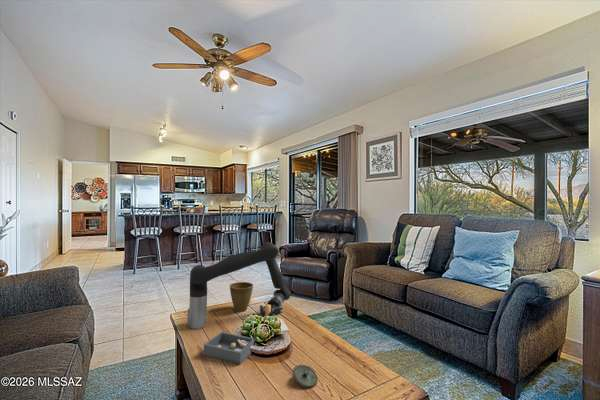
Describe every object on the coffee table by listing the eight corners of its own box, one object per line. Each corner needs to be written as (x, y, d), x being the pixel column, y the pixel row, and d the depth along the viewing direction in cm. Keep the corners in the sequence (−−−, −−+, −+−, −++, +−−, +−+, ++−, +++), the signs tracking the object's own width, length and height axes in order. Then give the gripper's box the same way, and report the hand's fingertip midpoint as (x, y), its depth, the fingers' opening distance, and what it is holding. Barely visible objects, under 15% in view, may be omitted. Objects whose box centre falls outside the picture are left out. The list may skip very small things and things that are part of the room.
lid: (302, 370, 123) (303, 358, 123) (322, 379, 117) (322, 367, 117) (286, 382, 114) (287, 369, 114) (307, 393, 108) (307, 379, 108)
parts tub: (203, 355, 131) (203, 344, 131) (221, 341, 144) (221, 331, 144) (240, 364, 125) (240, 353, 125) (255, 349, 138) (255, 338, 138)
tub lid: (251, 340, 144) (252, 312, 144) (246, 327, 158) (247, 302, 158) (288, 335, 151) (289, 308, 151) (281, 323, 165) (282, 299, 165)
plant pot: (254, 306, 193) (255, 282, 193) (248, 314, 179) (249, 289, 179) (233, 304, 195) (234, 281, 195) (225, 313, 180) (226, 287, 180)
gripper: (263, 296, 170) (253, 307, 153) (286, 298, 167) (279, 309, 150) (263, 309, 170) (253, 321, 153) (286, 311, 167) (278, 324, 150)
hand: (266, 315), depth 152 cm, fingers closed on tub lid, 3 cm apart
